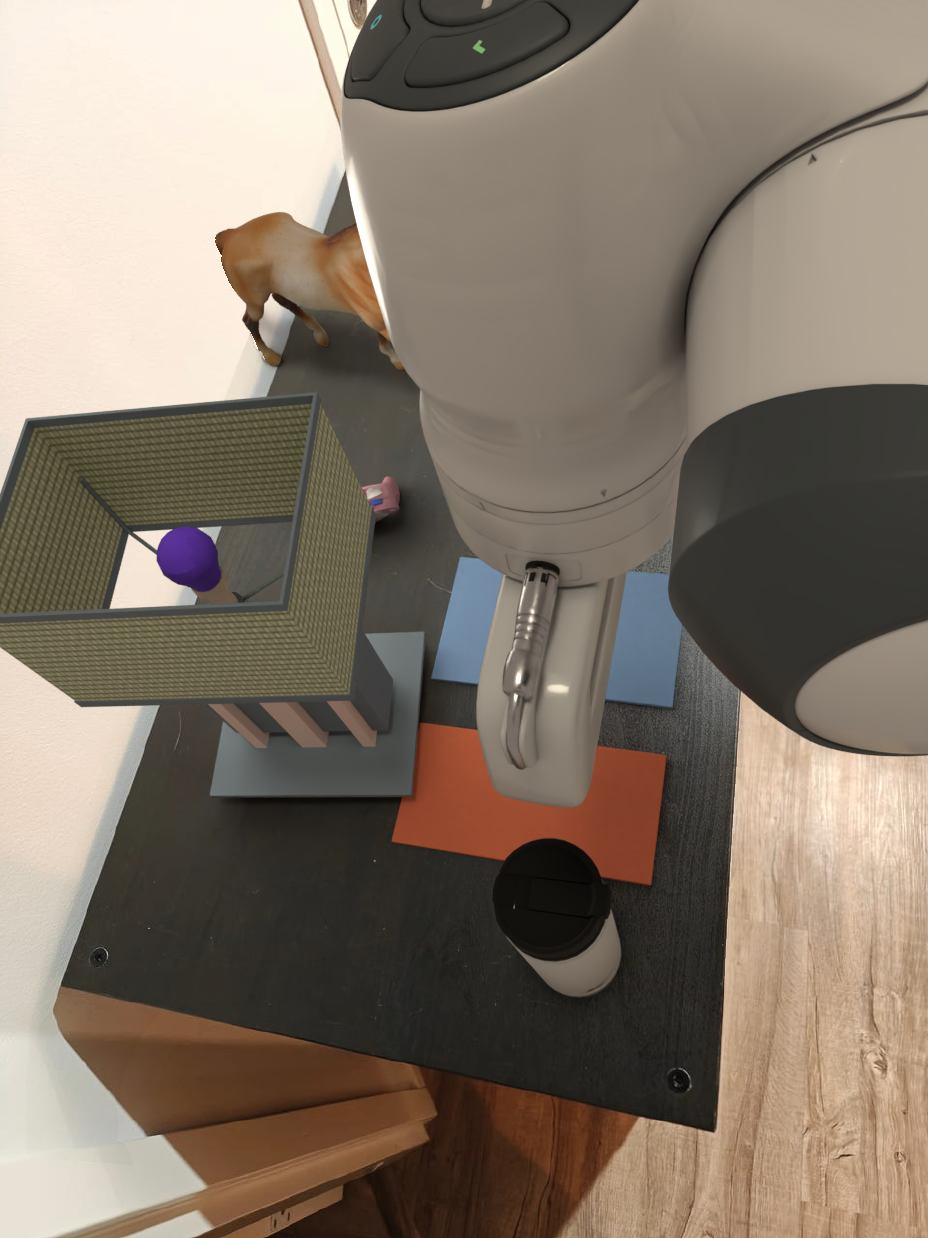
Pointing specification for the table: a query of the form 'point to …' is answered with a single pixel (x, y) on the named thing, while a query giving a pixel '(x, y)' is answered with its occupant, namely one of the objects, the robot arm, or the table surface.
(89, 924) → the table surface
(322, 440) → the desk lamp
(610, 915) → the travel mug
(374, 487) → the pink toy
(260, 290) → the horse figurine
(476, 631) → the blue mat
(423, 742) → the terracotta mat
